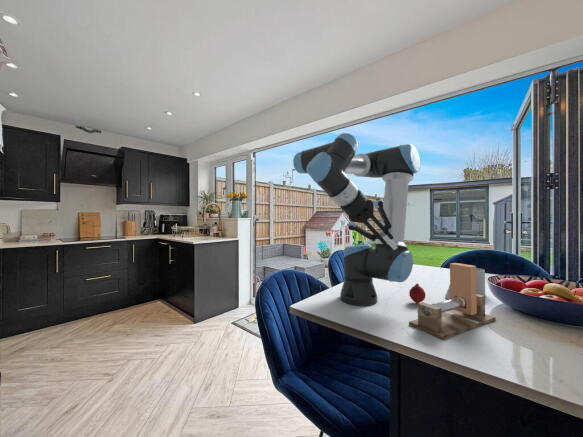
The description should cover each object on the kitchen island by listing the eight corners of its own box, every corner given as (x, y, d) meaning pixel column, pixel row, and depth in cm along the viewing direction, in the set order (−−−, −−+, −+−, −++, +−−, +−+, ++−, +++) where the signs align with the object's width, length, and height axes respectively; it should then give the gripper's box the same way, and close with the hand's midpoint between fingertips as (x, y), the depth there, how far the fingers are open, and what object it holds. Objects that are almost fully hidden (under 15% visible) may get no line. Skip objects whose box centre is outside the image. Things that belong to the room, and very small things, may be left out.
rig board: (443, 339, 69) (442, 313, 69) (408, 324, 79) (408, 301, 79) (495, 320, 81) (495, 297, 81) (460, 309, 91) (460, 289, 91)
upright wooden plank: (471, 315, 79) (470, 266, 79) (450, 308, 85) (449, 263, 85) (476, 313, 80) (476, 265, 80) (455, 307, 86) (455, 262, 86)
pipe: (431, 318, 73) (431, 307, 73) (421, 314, 76) (421, 304, 76) (480, 303, 84) (480, 294, 84) (470, 301, 87) (470, 292, 87)
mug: (489, 294, 107) (488, 269, 107) (480, 298, 103) (479, 272, 103) (459, 288, 118) (458, 265, 118) (449, 291, 113) (449, 267, 113)
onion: (425, 307, 94) (424, 286, 94) (408, 304, 97) (408, 284, 97) (426, 302, 99) (425, 282, 99) (410, 300, 102) (410, 281, 102)
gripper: (334, 217, 70) (382, 265, 77) (370, 186, 67) (417, 239, 74) (329, 207, 77) (374, 253, 84) (362, 179, 74) (405, 228, 81)
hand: (394, 246), depth 79 cm, fingers closed
